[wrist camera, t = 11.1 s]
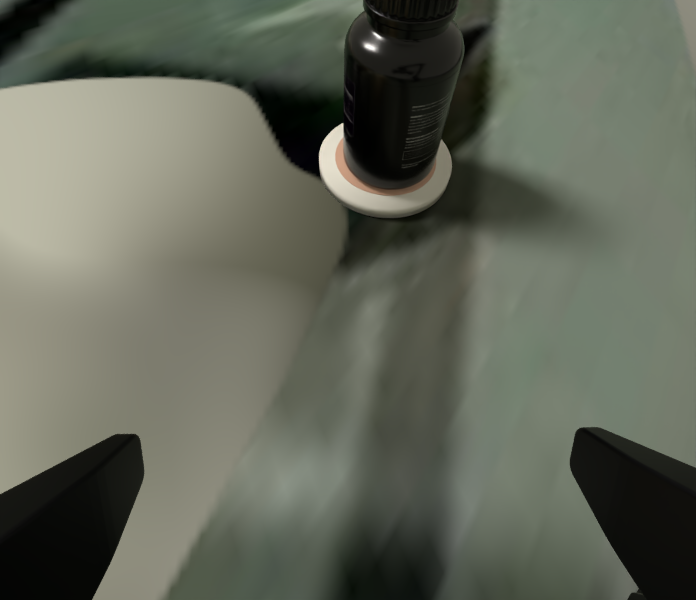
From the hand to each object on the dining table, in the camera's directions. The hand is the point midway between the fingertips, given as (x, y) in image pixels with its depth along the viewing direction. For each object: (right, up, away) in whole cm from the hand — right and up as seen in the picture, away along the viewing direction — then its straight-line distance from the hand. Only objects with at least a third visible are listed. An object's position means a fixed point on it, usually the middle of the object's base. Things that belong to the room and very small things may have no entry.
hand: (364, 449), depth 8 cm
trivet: (+3, +13, +23) cm, 27 cm away
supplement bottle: (+3, +13, +22) cm, 26 cm away
